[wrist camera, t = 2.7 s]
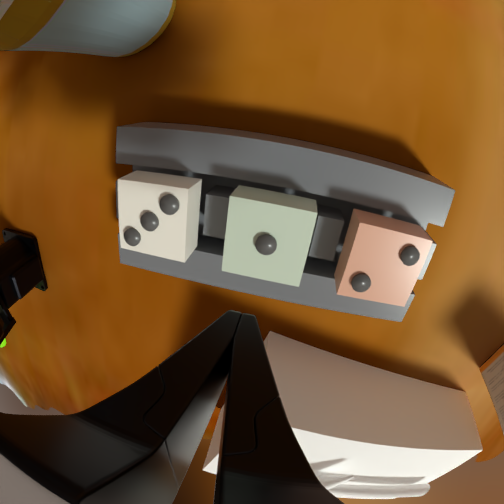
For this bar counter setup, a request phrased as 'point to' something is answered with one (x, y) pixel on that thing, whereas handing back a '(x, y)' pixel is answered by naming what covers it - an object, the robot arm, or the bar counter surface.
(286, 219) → the key sage
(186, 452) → the robot arm
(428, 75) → the bar counter surface
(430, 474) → the tissue box
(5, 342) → the wineglass
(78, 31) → the bottle
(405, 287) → the key terracotta
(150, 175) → the key cream
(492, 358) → the supplement box
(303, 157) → the keypad
